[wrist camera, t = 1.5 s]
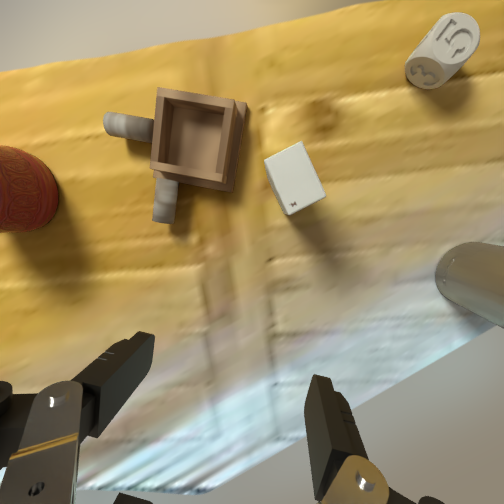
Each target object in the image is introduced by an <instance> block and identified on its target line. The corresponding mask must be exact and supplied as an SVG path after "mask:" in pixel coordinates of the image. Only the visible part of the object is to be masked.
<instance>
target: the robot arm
mask: <svg viewBox="0 0 504 504" xmlns="http://www.w3.org/2000/svg"><path fill="white" fill-rule="evenodd" d="M436 284H437V287H438V289H439V291H440V292H441V293H442V294H443V295H444V296H445V297H446V298H448V299H449V300H451V301H453V302H455V303H457V304H458V305H460V306H462V307H464V308H466V309H468V310H470V311H471V312H473V313H475V314H477V315H479V316H481V317H483V318H485V319H487V320H488V321H490V322H492V323H494V324H496V325H498V326H500V327H502V328H504V246H498V245H492V244H486V243H480V242H469V243H464V244H461V245H459V246H456V247H454V248H453V249H451V250H450V251H449V252H447V253H446V254H445V255H444V256H443V258H442V259H441V260H440V262H439V264H438V266H437V269H436ZM154 341H155V336H154V335H153V334H149V333H145V332H141V331H139V332H137V333H136V334H135V335H134V336H133V337H132V338H130V339H129V340H127V339H124V340H121V341H119V342H117V343H115V344H113V345H112V346H111V347H110V348H108V349H107V350H106V351H105V353H103V354H101V355H100V356H99V357H98V359H95V360H94V361H93V362H92V363H91V364H90V365H88V366H87V367H86V368H85V369H84V370H83V371H81V372H80V373H79V374H78V375H77V376H75V377H74V378H73V379H72V380H71V381H61V382H57V383H54V384H52V385H50V386H48V387H46V388H44V389H43V390H42V391H40V392H39V393H37V394H13V393H12V385H11V384H10V383H8V382H5V381H0V470H1V469H2V468H3V467H7V468H6V471H5V474H4V477H3V480H2V483H1V486H0V504H75V499H76V488H77V477H78V465H79V454H80V444H81V443H82V441H83V440H84V439H85V438H86V437H87V436H91V437H95V438H98V437H99V436H100V435H101V433H102V432H103V431H104V429H105V428H106V427H107V426H108V424H109V423H110V422H111V420H112V419H113V418H114V416H115V415H116V414H117V413H118V411H119V410H120V409H121V407H122V406H123V405H124V404H125V402H126V401H127V400H128V398H129V397H130V396H131V394H132V393H133V392H134V391H135V389H136V388H137V387H138V385H139V384H140V383H141V382H142V380H143V379H144V378H145V376H146V375H147V373H148V372H149V370H150V367H151V364H152V358H153V350H154ZM304 417H305V425H306V433H307V441H308V448H309V457H310V464H311V472H312V480H313V488H314V496H315V500H317V501H319V502H318V503H317V504H416V503H414V502H413V501H411V500H409V499H408V498H406V497H404V496H403V495H401V494H399V493H397V492H396V491H394V490H393V489H391V488H390V487H389V486H388V484H387V482H386V480H385V478H384V476H383V475H382V473H381V472H380V470H379V469H378V468H377V467H376V466H375V465H374V464H373V463H371V462H370V461H369V459H368V456H367V454H366V451H365V448H364V445H363V442H362V440H361V437H360V434H359V431H358V428H357V426H356V425H355V420H354V417H353V416H352V412H351V409H350V406H349V403H348V402H347V400H346V399H345V398H344V396H343V395H342V394H341V393H340V392H336V391H334V388H333V385H332V382H331V379H330V378H328V377H324V376H320V375H315V374H314V375H313V377H312V380H311V383H310V387H309V390H308V394H307V397H306V401H305V407H304ZM320 501H321V502H320ZM113 504H153V503H152V502H150V501H147V500H144V499H140V498H137V497H133V496H130V495H126V494H123V493H119V494H118V496H117V498H116V500H115V501H114V503H113ZM418 504H444V503H443V502H441V501H440V500H438V499H436V498H433V497H429V496H425V497H422V498H421V499H420V500H419V502H418Z"/></svg>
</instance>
